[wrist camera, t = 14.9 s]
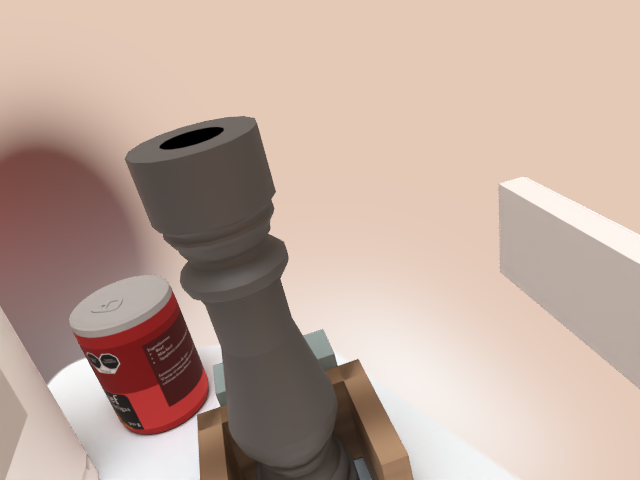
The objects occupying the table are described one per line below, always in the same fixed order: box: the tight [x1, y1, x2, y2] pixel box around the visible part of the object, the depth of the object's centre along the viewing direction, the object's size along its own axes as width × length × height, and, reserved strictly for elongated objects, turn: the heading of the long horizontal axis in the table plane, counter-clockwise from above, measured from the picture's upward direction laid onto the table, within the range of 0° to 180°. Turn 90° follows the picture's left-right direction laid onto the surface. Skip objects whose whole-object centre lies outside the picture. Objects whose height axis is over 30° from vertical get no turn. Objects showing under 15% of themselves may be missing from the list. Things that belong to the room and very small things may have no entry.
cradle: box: [197, 359, 413, 480], centre depth 32 cm, size 8×11×7 cm
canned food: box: [69, 275, 208, 434], centre depth 43 cm, size 8×8×11 cm
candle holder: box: [125, 116, 359, 480], centre depth 27 cm, size 6×6×25 cm
